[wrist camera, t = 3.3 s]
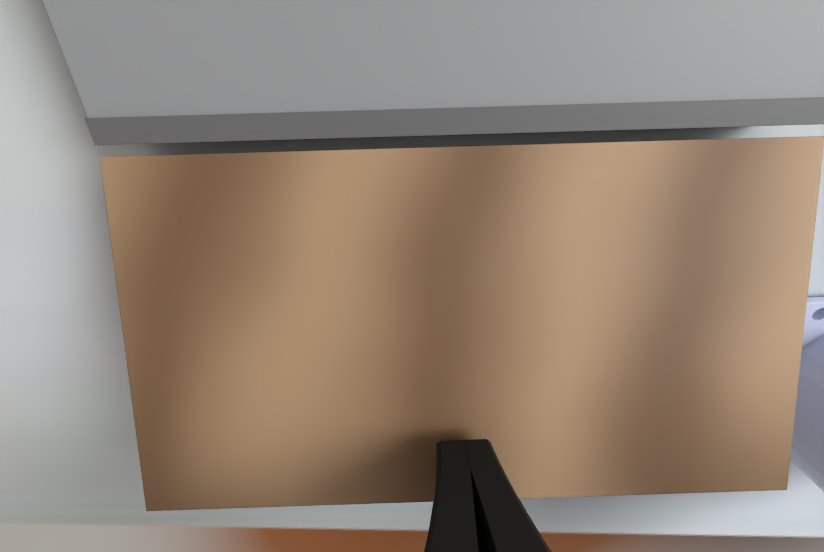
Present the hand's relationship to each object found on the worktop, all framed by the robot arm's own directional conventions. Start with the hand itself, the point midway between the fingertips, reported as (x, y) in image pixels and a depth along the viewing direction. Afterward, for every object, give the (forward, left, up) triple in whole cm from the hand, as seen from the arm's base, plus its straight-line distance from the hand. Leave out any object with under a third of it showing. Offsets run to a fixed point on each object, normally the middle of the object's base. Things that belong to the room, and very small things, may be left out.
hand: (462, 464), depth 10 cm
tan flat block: (0, -3, -3) cm, 4 cm away
